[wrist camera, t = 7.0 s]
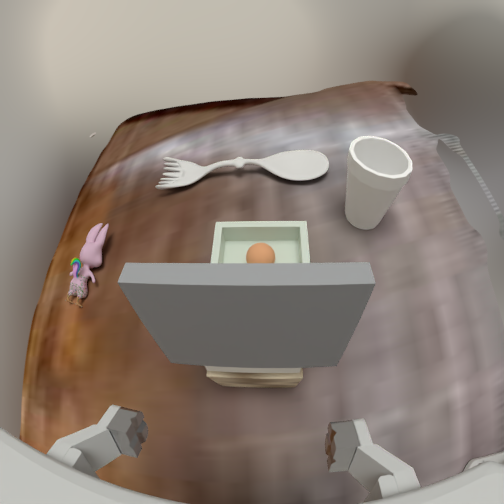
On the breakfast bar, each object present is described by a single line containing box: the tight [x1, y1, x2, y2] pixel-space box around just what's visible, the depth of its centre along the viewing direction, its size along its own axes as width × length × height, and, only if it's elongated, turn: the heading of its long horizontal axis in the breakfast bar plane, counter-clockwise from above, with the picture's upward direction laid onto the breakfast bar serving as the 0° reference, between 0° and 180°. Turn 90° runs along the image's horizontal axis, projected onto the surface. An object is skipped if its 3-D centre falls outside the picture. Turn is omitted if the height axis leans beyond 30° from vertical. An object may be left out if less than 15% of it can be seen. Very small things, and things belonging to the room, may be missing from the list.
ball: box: [246, 243, 275, 263], centre depth 39 cm, size 4×4×4 cm
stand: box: [207, 368, 303, 388], centre depth 31 cm, size 9×9×9 cm
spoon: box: [156, 150, 329, 189], centre depth 51 cm, size 9×32×4 cm, turn 92°
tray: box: [211, 221, 310, 263], centre depth 39 cm, size 13×13×4 cm
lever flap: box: [118, 262, 376, 373], centre depth 22 cm, size 9×14×12 cm, turn 88°
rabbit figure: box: [67, 223, 109, 307], centre depth 41 cm, size 6×6×15 cm
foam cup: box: [345, 136, 412, 230], centre depth 40 cm, size 10×9×13 cm
